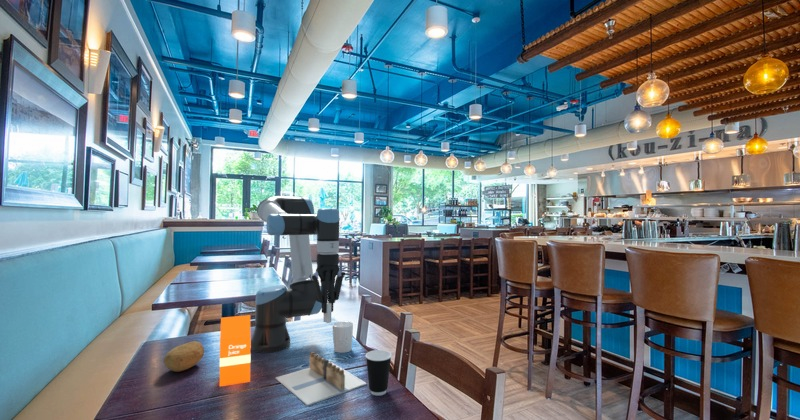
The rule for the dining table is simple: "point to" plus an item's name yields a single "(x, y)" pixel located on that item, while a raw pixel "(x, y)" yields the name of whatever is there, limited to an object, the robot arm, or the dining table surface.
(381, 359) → the dixie cup
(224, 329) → the orange juice
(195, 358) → the potato
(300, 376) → the card
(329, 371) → the fixed fence panel
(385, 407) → the dining table surface
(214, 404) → the dining table surface
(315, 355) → the beige crenellated panel
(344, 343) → the white cup
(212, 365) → the dining table surface
